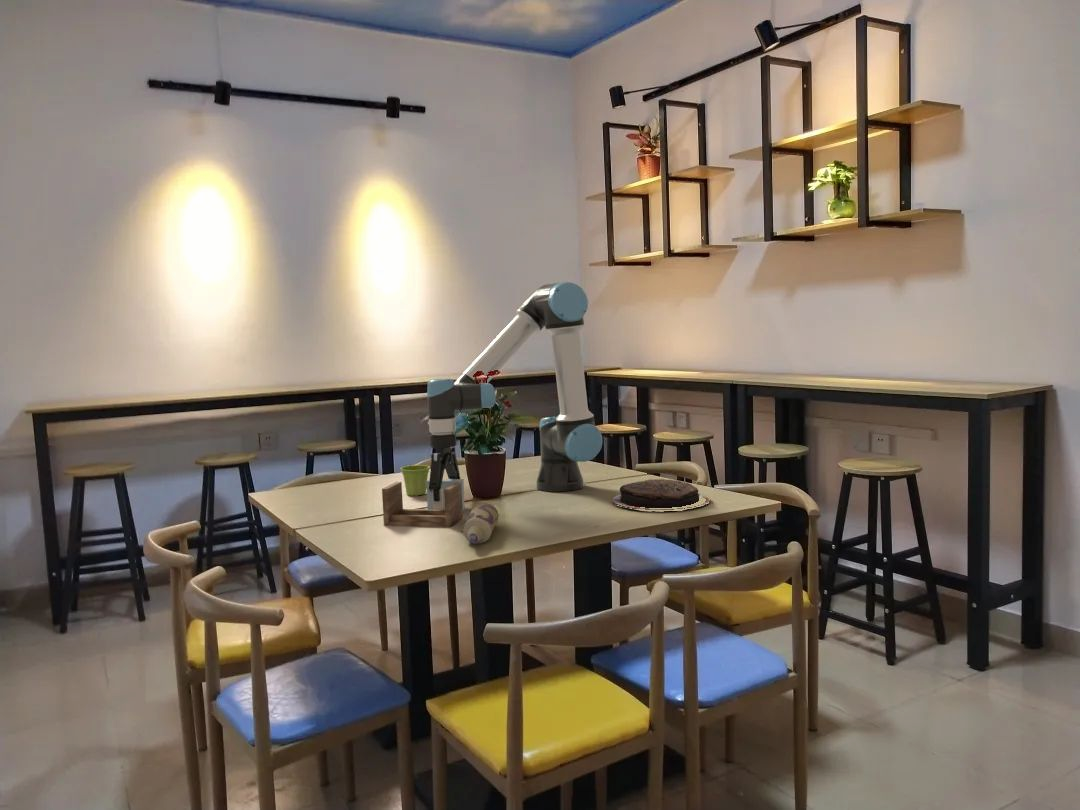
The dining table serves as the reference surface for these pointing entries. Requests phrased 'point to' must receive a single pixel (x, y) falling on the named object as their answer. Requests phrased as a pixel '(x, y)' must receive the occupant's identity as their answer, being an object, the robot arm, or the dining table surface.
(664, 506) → the chocolate cake
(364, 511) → the dining table surface
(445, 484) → the door panel
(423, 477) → the plant pot
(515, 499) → the dining table surface
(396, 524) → the track
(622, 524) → the dining table surface
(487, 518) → the decorative bottle
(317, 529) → the dining table surface
